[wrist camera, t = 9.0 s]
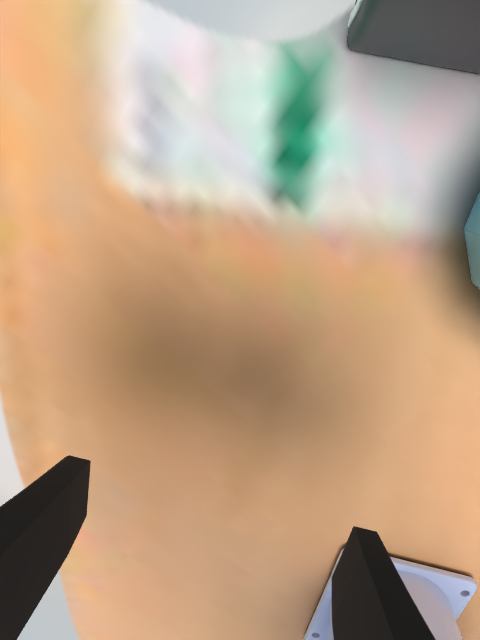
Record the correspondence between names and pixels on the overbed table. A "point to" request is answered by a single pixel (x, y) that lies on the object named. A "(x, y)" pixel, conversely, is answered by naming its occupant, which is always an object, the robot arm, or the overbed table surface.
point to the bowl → (474, 242)
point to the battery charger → (419, 31)
